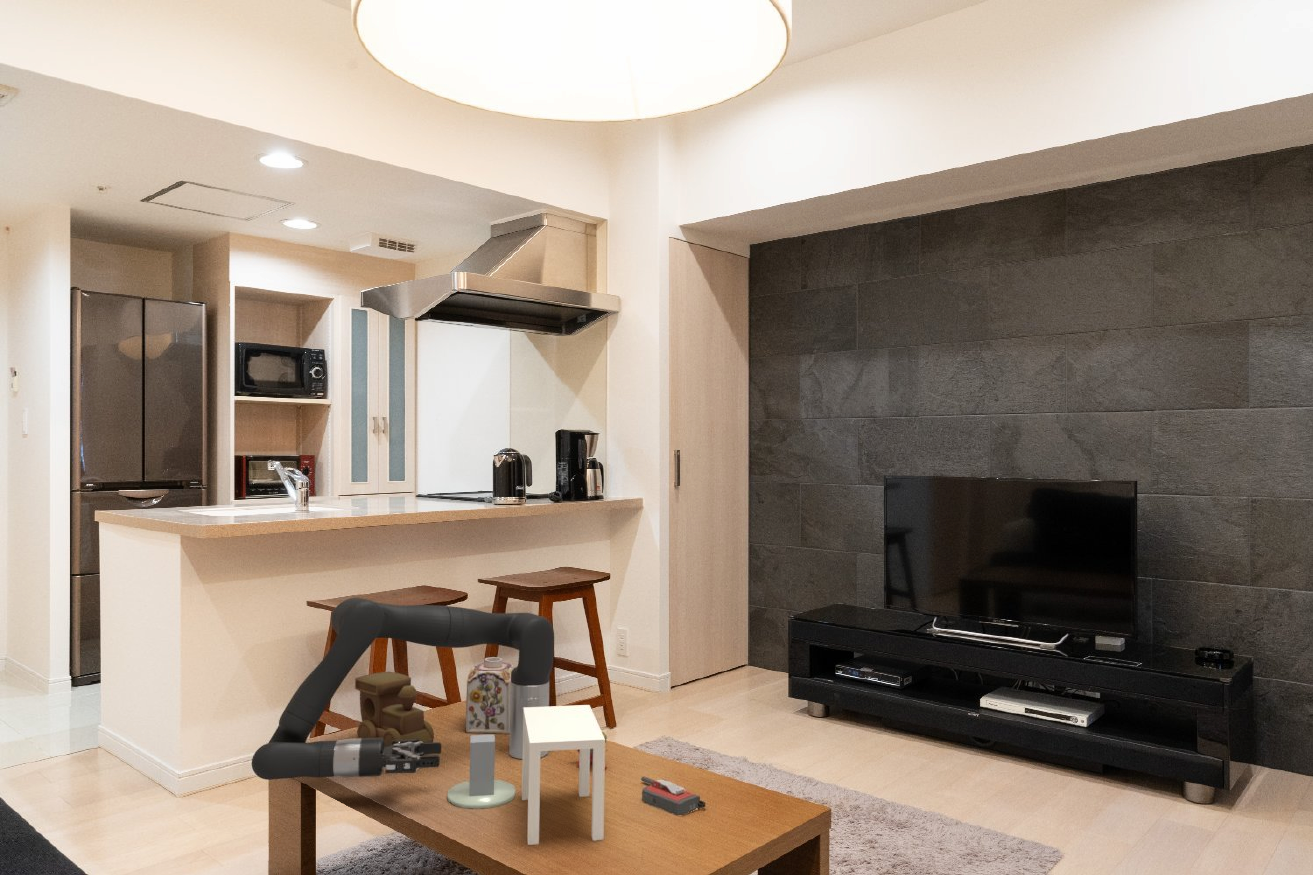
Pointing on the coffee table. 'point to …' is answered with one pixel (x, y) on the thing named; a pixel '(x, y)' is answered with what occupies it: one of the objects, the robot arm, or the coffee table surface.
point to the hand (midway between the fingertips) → (440, 754)
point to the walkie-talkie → (670, 797)
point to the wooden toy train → (390, 709)
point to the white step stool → (562, 733)
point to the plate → (462, 799)
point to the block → (482, 765)
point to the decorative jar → (489, 697)
